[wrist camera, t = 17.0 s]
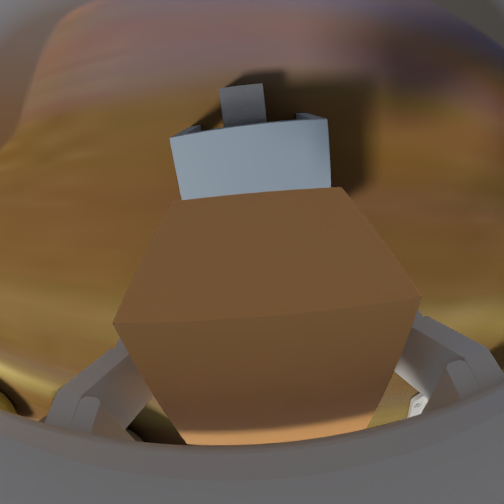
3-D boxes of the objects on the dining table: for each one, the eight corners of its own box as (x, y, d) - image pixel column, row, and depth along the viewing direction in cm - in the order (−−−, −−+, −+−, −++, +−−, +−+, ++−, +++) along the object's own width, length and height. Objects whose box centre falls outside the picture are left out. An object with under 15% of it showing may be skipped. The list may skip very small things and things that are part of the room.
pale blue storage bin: (312, 216, 26) (331, 255, 20) (209, 228, 26) (198, 270, 20) (305, 112, 22) (327, 119, 16) (190, 126, 22) (169, 138, 16)
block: (332, 312, 11) (365, 429, 7) (202, 323, 11) (187, 444, 7) (341, 186, 9) (421, 296, 4) (172, 201, 9) (112, 322, 4)
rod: (281, 317, 32) (284, 337, 29) (254, 320, 32) (254, 339, 30) (260, 85, 21) (262, 83, 18) (222, 89, 21) (218, 88, 18)
